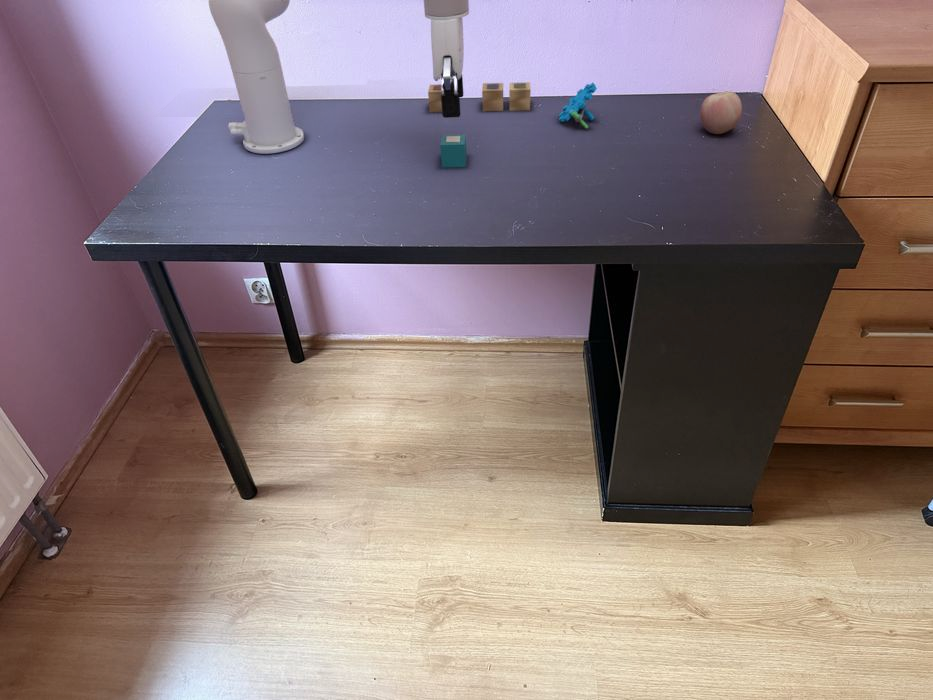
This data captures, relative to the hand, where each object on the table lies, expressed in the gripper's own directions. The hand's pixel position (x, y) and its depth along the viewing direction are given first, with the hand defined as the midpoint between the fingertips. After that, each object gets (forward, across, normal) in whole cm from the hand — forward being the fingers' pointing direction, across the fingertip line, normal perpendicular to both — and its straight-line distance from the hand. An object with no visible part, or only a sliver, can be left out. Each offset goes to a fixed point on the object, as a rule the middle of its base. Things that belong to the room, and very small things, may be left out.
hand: (453, 106), depth 122 cm
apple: (+12, -12, +52) cm, 55 cm away
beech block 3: (+11, -28, +12) cm, 33 cm away
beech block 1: (+11, -28, -6) cm, 31 cm away
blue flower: (+12, -19, +24) cm, 33 cm away
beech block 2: (+11, -28, +6) cm, 31 cm away
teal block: (+11, 0, -1) cm, 11 cm away
